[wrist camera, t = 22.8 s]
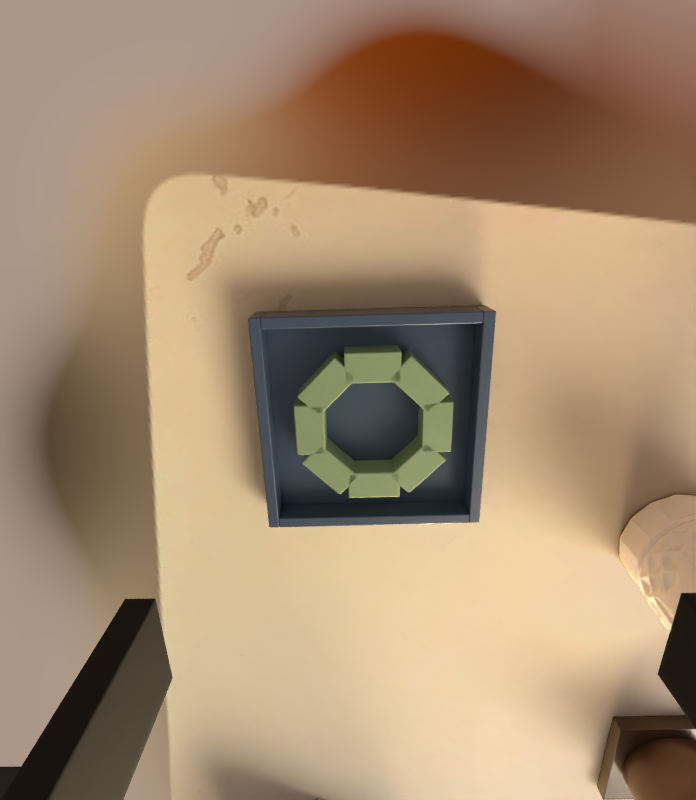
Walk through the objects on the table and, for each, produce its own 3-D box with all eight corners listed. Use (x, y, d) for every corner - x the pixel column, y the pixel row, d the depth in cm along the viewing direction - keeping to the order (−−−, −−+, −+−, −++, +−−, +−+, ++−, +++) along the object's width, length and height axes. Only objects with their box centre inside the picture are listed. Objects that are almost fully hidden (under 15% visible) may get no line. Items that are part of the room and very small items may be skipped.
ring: (450, 343, 24) (456, 350, 23) (443, 481, 27) (448, 496, 26) (293, 347, 25) (289, 354, 23) (302, 485, 27) (299, 499, 26)
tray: (484, 305, 24) (496, 311, 22) (470, 504, 28) (479, 523, 26) (255, 311, 24) (247, 317, 22) (274, 508, 28) (269, 527, 27)
